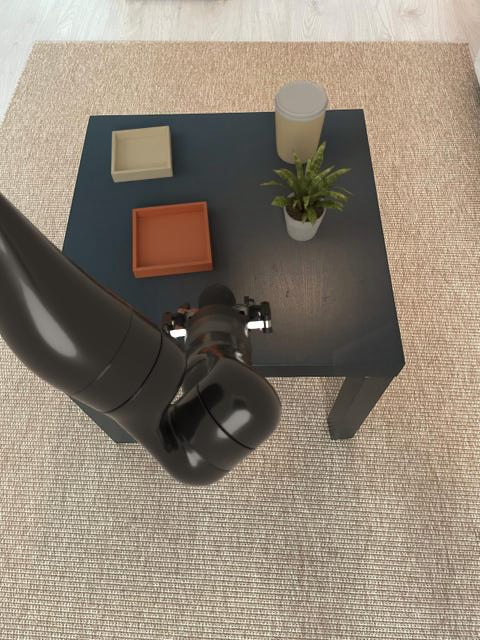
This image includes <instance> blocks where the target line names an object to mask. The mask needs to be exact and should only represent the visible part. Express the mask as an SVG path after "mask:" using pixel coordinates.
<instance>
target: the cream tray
mask: <svg viewBox="0 0 480 640" xmlns="http://www.w3.org/2000/svg"><path fill="white" fill-rule="evenodd" d="M170 129H171V128H170V125H163V126H162V125H161V126H152V127H143V128H132V129H122V130H113V131H111V163H110V164H111V166H110V169H111V170H110V172H111V173H110V175H111V177H112V179H113V183H123V182H124V183H125V182H131V181H133V182H134V181H141V180H142V181H143V180H152V179H153V180H155V179H162V178H171V177H172V178H173V177H174V174H173V172H174V171H173V170H174V169H173V153H172V136H171V130H170Z"/></svg>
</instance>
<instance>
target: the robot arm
mask: <svg viewBox="0 0 480 640" xmlns="http://www.w3.org/2000/svg"><path fill="white" fill-rule="evenodd" d="M243 302H244V303H236V305H234V306H232V307H229V306H226V305H222V304H213V305H208V306H205V307H203V308H201V309H199V308H198V309H197V308H194V307H192V308H191V305H190V304H191V303H190V302H189V301H186V302H183V305H180V306H179V307H178V309H177V310H176V313H173V312H172V311H164V312H163V313H162V317H161V322H160V326H159V325H158V324H156V323H155V321H152V319H150V318H148V317H147V316H146V315H144V314H143V313H142V312H140V311H139V310H137V309H136V308H135V307H133V306H132V305H131V304H129V303H128V302H127V301H125V300H123V299H122V298H121V297H119V296H118V295H117V294H115V293H114V292H112V291H111V290H109V289H108V288H107V287H105V286H104V285H103V284H101V283H100V282H99V281H98V280H96V278H94V277H92V276H91V275H90V274H89V273H87V272H86V271H85V269H83V268H82V267H81V266H80V265H78V264H77V263H75V261H73V260H72V259H71V258H70V257H69V256H68V255H67V254H65V252H63V251H62V250H61V249H60V248H59V247H58V246H57V245H56V244H55V243H53V241H51V240H50V239H49V238H48V237H47V236H46V235H45V234H44V233H43V232H41V230H39V228H38V227H37V226H36V225H34V223H32V222H31V221H30V220H29V219H28V217H26V215H25V214H23V213H22V211H20V209H19V208H17V206H16V205H14V204H13V203H12V202H11V201H10V200H9V199H8V198H7V197H6V196H5V195H4V194H3V193H2V192H1V191H0V336H1V338H2V340H3V341H4V343H5V344H6V345H7V347H8V348H9V350H10V351H11V352H12V353H13V354H14V355H15V357H16V358H17V359H18V360H19V361H20V363H22V365H24V366H25V367H26V368H27V369H28V370H29V371H30V372H31V373H32V374H34V375H35V376H37V377H38V378H39V379H40V380H41V381H43V382H44V383H47V384H48V385H50V386H51V387H53V388H55V389H56V390H58V391H60V392H62V393H64V394H66V395H68V396H69V397H71V398H73V399H74V400H78V401H79V402H80V403H82V404H84V405H85V406H88V407H90V408H91V409H93V410H95V411H97V412H99V413H101V414H103V415H105V416H107V417H109V418H110V419H112V420H113V421H114V422H116V423H117V424H118V425H119V426H120V427H121V428H122V429H124V431H126V432H127V434H129V435H130V437H132V438H133V440H135V442H137V443H138V444H139V445H140V446H141V447H142V448H143V449H144V450H145V451H146V452H147V453H148V454H149V455H150V456H151V457H152V458H153V460H155V462H156V463H157V464H158V465H159V466H160V467H161V468H162V470H164V472H165V473H166V474H168V476H170V478H171V479H173V480H174V481H176V482H178V483H179V484H182V485H184V486H189V487H195V488H199V487H209V486H211V485H214V484H216V483H218V482H219V481H221V480H222V479H223V478H224V477H226V476H227V475H228V474H229V473H230V472H231V471H233V470H234V469H235V468H236V467H237V466H238V465H239V464H241V462H244V460H246V459H247V458H248V457H249V456H250V455H251V454H253V453H254V452H255V451H256V450H257V449H258V448H259V447H261V446H262V445H263V444H264V443H265V442H266V441H268V440H269V439H270V438H271V437H272V436H273V435H274V433H275V432H276V431H277V429H278V427H279V425H280V422H281V420H282V414H283V405H282V402H281V398H280V396H279V394H278V392H277V390H276V389H275V388H274V386H273V385H272V384H271V383H270V381H269V380H268V379H267V378H266V376H264V375H263V374H262V373H261V372H260V371H259V370H257V369H256V368H255V367H253V362H252V360H253V359H252V358H253V348H252V344H251V337H250V333H251V331H252V330H253V329H254V330H255V329H258V330H259V331H262V333H263V334H266V335H269V334H272V333H273V321H272V312H271V303H270V302H269V301H266V300H264V301H262V302H260V304H257V303H256V301H255V299H254V298H250V296H249V295H243ZM178 337H184V339H183V345H182V344H181V343H180V341H178V340H177V339H178ZM180 390H181V392H182V395H181V396H180V397H178V399H176V400H175V398H176V397H177V395H178V393H179V392H180ZM174 400H175V401H174ZM173 401H174V402H173Z"/></svg>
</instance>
